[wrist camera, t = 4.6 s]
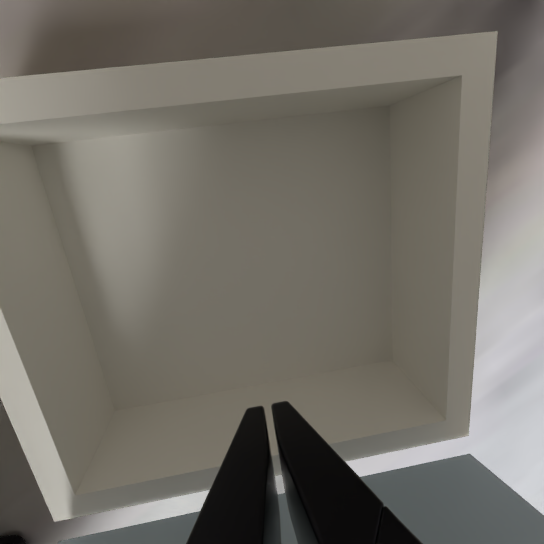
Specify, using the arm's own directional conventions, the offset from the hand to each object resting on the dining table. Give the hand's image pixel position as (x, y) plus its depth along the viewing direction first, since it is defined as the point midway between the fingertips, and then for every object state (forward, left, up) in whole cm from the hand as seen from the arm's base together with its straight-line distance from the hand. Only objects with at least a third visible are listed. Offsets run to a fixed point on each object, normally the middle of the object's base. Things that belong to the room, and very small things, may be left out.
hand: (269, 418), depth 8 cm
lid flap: (-4, 0, +4) cm, 6 cm away
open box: (+2, 0, -8) cm, 8 cm away
